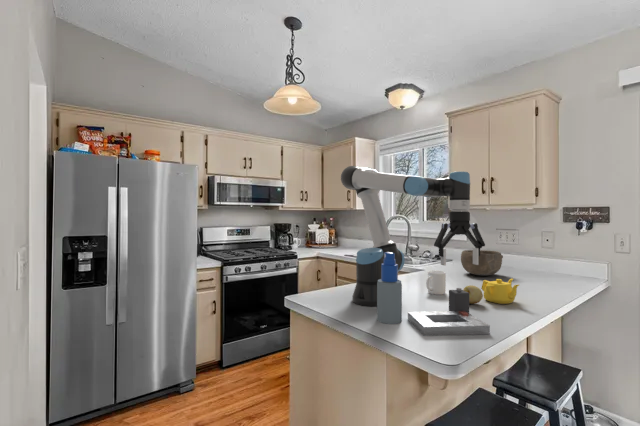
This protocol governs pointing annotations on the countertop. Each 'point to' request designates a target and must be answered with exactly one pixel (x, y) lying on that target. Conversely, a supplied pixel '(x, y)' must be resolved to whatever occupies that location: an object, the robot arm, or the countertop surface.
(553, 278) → the countertop surface
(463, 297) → the plug
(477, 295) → the fruit
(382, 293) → the spray bottle
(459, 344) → the countertop surface
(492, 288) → the teapot
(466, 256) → the bowl
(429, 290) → the mug
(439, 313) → the socket plate
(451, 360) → the countertop surface
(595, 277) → the countertop surface
